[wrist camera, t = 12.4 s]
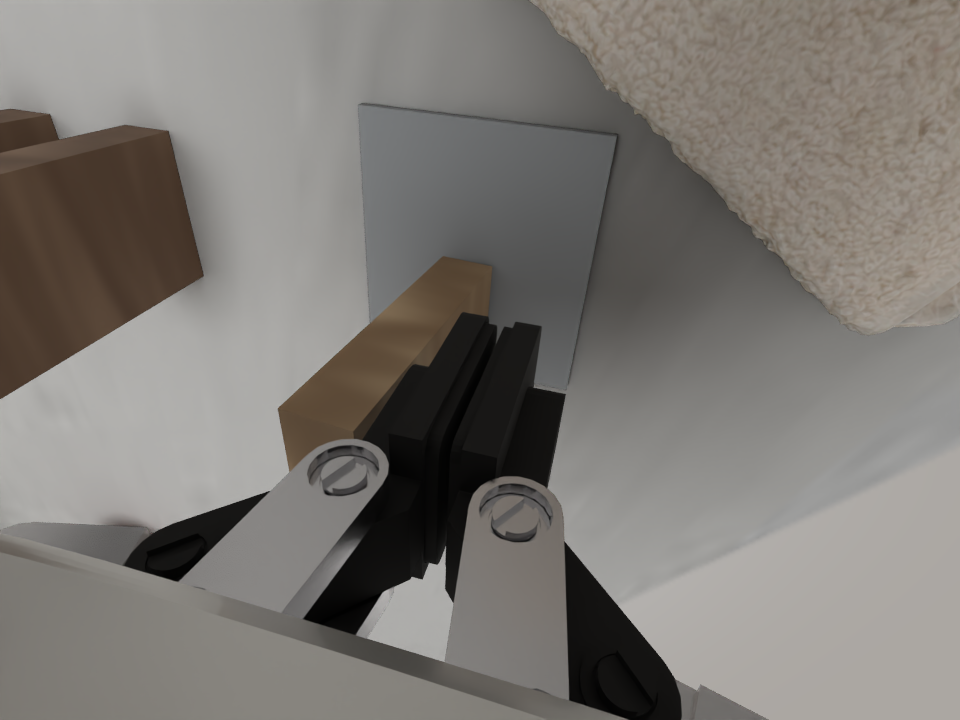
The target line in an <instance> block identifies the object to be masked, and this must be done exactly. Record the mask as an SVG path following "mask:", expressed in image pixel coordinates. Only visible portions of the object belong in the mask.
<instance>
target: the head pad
mask: <svg viewBox="0 0 960 720" xmlns="http://www.w3.org/2000/svg"><path fill="white" fill-rule="evenodd" d="M358 117H359V135H360V153H361V171H362V189H363V207H364V225H365V243H366V261H367V279H368V297H369V315H370V323H371V322H372V321H373V320H374V319H375V318H376V317H377V316H379V315H380V314H381V313H382V312H383V311H384V310H385V309H386V308H387V307H388V306H389V305H390V304H392V303H393V302H394V301H395V300H396V299H397V298H398V297H399V296H400V295H401V294H402V293H403V292H405V291H406V290H407V289H408V288H409V287H410V286H411V285H412V284H413V283H414V282H415V281H416V280H418V279H419V278H420V277H421V276H422V275H423V274H424V273H425V272H426V271H427V270H428V269H429V268H431V267H432V266H433V265H434V264H435V263H436V262H437V261H438V260H439V259H440V258H441V257H442V256H445V257H450V258H455V259H459V260H464V261H469V262H474V263H478V264H483V265H488V266H492V277H491V288H490V299H489V311H488V317H489V324H494V325H497V340H496V343H497V341H498V339H499V337H500V334H501V332H502V330H503V328H504V327H511V328H513V326H514V323H515V322H522V323H527V324H533V325H538V326H542V331H541V339H540V346H539V353H538V359H537V366H536V373H535V380H534V384H539V385H544V386H549V387H554V388H558V389H563V390H567V385H568V380H569V375H570V370H571V365H572V360H573V355H574V350H575V345H576V340H577V335H578V330H579V325H580V320H581V315H582V310H583V305H584V300H585V295H586V290H587V285H588V280H589V275H590V270H591V265H592V260H593V255H594V250H595V245H596V240H597V235H598V230H599V224H600V219H601V214H602V209H603V204H604V199H605V194H606V189H607V184H608V179H609V174H610V169H611V164H612V159H613V154H614V149H615V144H616V139H617V134H611V133H603V132H594V131H586V130H578V129H570V128H562V127H553V126H545V125H537V124H529V123H521V122H512V121H504V120H496V119H488V118H480V117H471V116H463V115H455V114H447V113H439V112H430V111H422V110H414V109H406V108H398V107H389V106H381V105H373V104H365V103H362V104H359V105H358Z"/></svg>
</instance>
